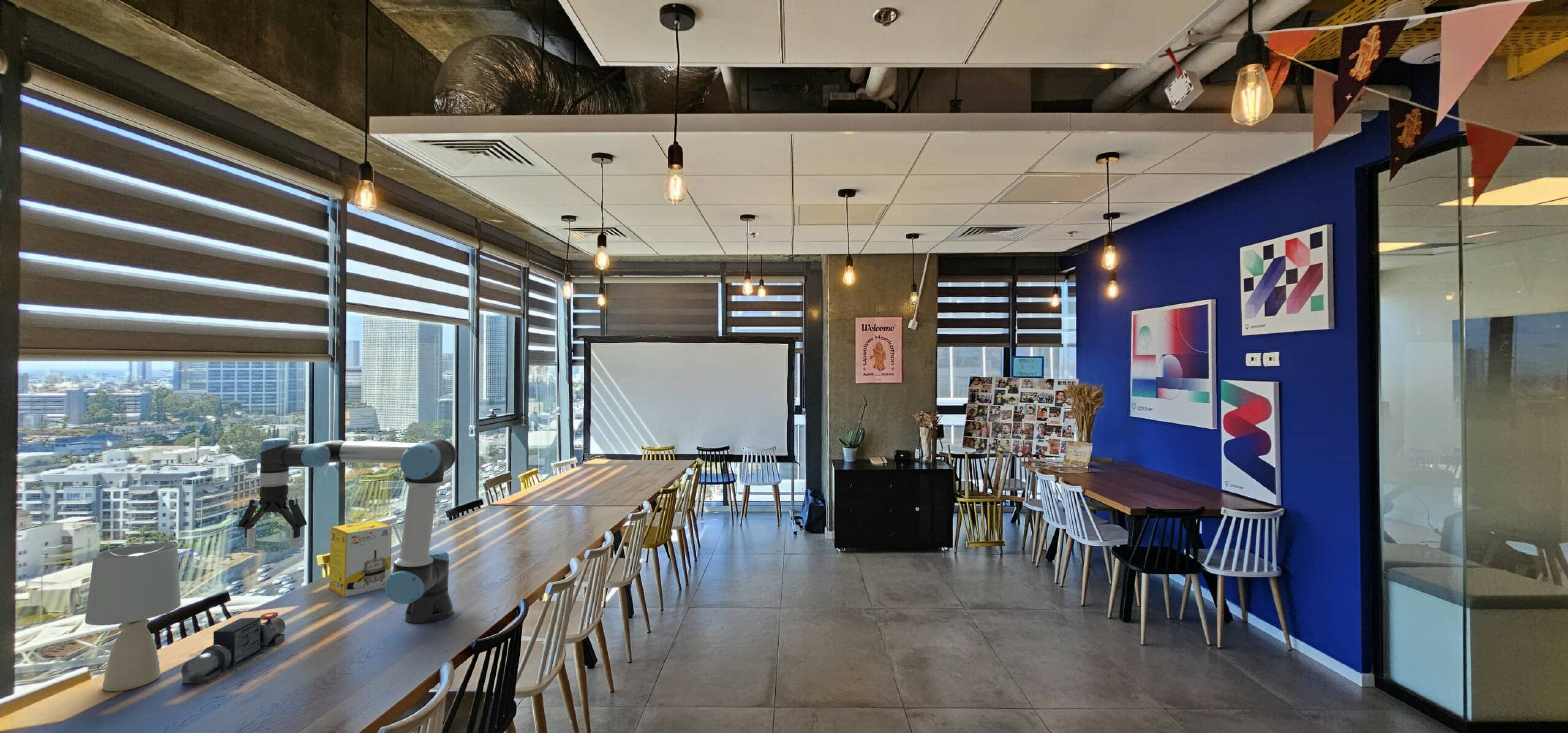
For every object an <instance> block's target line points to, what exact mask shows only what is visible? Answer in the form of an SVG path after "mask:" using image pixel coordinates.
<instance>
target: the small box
mask: <svg viewBox="0 0 1568 733" xmlns="http://www.w3.org/2000/svg"><path fill="white" fill-rule="evenodd" d="M261 623H262V622H261V617H259V616H258V617H241V618H238V619H236V620H235V621H232V622H230V623H228V624H226V625H225V626H222V627H220V628H217V629H216V630H214V631H213V638H212V639H213V642H212V643H213V644H212V645H215V644H220V645H223V646H225V647H227V648H228V649H229V651H230V653H231V662H230V664H229V666H234V665H236V664H238V663H240V662H241V661H243V660H245V659H246V658H248V657H250V656H252V655H253V654H255V653H257V652H259V651H260V650H261V646H260V633H261Z"/></svg>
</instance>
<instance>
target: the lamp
mask: <svg viewBox="0 0 1568 733" xmlns="http://www.w3.org/2000/svg"><path fill="white" fill-rule="evenodd" d="M179 565H180V564H179V550H178V544H176V543H172V542H154V543H153V542H152V543H151V542H150V543H143V544H134V545H125V546H121V547H120V546H119V547H116V548H112V549H107V550H103V551H100V552H97V553H96V554H94V555H93V558H92V564H91V573H90V579H89V580H90V581H89V588H88V595H87V602H86V610H85V617H84V623H85V625H91V626H113V625H118V629H119V630H120V633H119V635H118V636H117V638H116V640H115V642H114V644H113V646H112V648H111V650H110V653H109V657H108V659H107V665H106V667H105V672H104V677H103V683H102V688H103V690H104V691H105V692H110V693H111V691H113V692H114V691H116V692H124V691H129V690H133V689H137V688H141V687H143V686H146V685H148V684H150V683H153V682H154V681H156V680H157V679H158V678H159V677H160V676H161V668H160V660H159V655H158V650H157V645H156V641H155V640H154V637H153V635H152V633H151V632H150V630H149V629H148V627H147V626H148V624H149V623H150V620H149V619H151V618H155V617H160V616H162V615H165V614H168V613H170V612H173V611H174V610H177V609H178V608H179V607H181V605H182V604H181V602H182V601H181V586H180V584H181V583H180V569H179ZM159 675H160V676H159ZM113 692H112V693H113ZM114 693H115V692H114Z"/></svg>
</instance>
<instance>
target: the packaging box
mask: <svg viewBox="0 0 1568 733" xmlns="http://www.w3.org/2000/svg"><path fill="white" fill-rule="evenodd" d="M392 529H393V527H392V525H390V524H388V523H384V522H382V521H379V520H374V519H373V520H368V521H362V522H355V523H348V524H343V525H336V526H331V527H330V535H329V536H330V538H329V539H330V541H329V543H330V544H329V545H330V546H329V573H328V575H329V576H328V589H329V590H331V591H332V592H334V593H337V594H338V595H340V596H342V597H343V598H346V597H351V596H356V595H360V594H363V593H368V592H372V591H376V590H380V589H385V583H386V580H387V579H388V577H389V576H390V575H391V568H392V565H391V563H392Z"/></svg>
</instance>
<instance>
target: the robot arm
mask: <svg viewBox="0 0 1568 733" xmlns="http://www.w3.org/2000/svg"><path fill="white" fill-rule="evenodd" d="M260 444H261V445H260V446H261V447H260V452H259V454H260V470H259V471H260V472H259V484H260V486H259V492H258V493H259V495H258V496H259V498H260V499H259V498H258V497H256V498H251V499H250V500H249V503H248V507H247V508H246V510H245V512H244V514H243V516H242V517H241V518H240V521H239V522H238V524H237V526H238V527H239V528H243V529H244V539H246V550H250V549H253V548H255V547H256V533H257V532H256V530H257V528H256V527H255V525H256V524H257V523H258V522H259V521H260V520H261V518H262V517H263V516H264V515H265V514H267V513H268V514H269V513H274V514H275V513H276V514H277V513H278V514H279V515H281V516H282V517H283V518H284V520H285V521H286V522H287V523H288V524H289V525H290V527H292V528H290V529H289V550H291V549H295V548H297V547H298V542H299V540H298V538H300V536H301V528H302V527H304V526H307V525H308V521H307V520H306V518H305V516H304V514H303V512H302V510H301V507H300V506H299V500H298V498H297V497H295V498H291V499H288V495H289V484H288V482H289V475H290V474H289V473H290V472H289V471H290V468H292V467H293V468H321V467H324V466H325V465H326V464H328V463H359V464H361V463H362V464H391V465H393V464H395V465H397V464H399V465H400V470H401V472H403V475H404V480H403V483H405V484H406V485H407V486H408V490H407V498H406V505H405V506H406V507H405V512H404V513H405V515H404V522H403V528H402V530H403V532H402V536H401V546H400V555H399V556H398V557H397V558H396V559H395V560H394V561H393V569H392V573H390V576H389V577H388V579H387V580H386V583H385V588H384V591H385V595H386V596H387V597H388V598H389V599H390V600H391V601H392V602H393V603H395V604H399V605H407V608H406V610H405V614H404V620H405V622H407V623H410V624H429V623H435V622H438V621H441V620H444V619H446V618H448V617H450V616H451V615H452V614H453V613H454V605H453V602H452V600H451V596H450V593H449V574H450V573H449V571H450V570H449V568H450V555H449V553H448V552H447V551H445V550H444V551H443V550H430V549H431V541H432V534H433V533H432V532H433V525H434V515H435V508H436V499H437V492H438V491H437V490H438V488H439V487H438V486H439V485H441V484H442V483H444V475H445V471H447V470H448V469H450V468H451V467H453V465H454V464H455V462H456V460H457V455H458V454H457V449H456V448H455V445H453V443H452V442H450V441H448V440H445V439H433V440H420V441H419V442H418V443H417V442H385V441H382V442H379V441H378V442H377V441H345V440H342V439H334V440H333V439H331V440H328V441H323V442H316V443H310V444H309V443H308V444H291V442H290V439H289V438H285V437H284V438H283V437H280V438H278V437H277V438H276V437H275V438H267V439H264V440H262V441H261V443H260ZM258 506H260V507H259V509H258V510H257V508H258ZM288 506H289V507H288ZM256 510H257V511H256ZM255 512H256V513H255Z"/></svg>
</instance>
